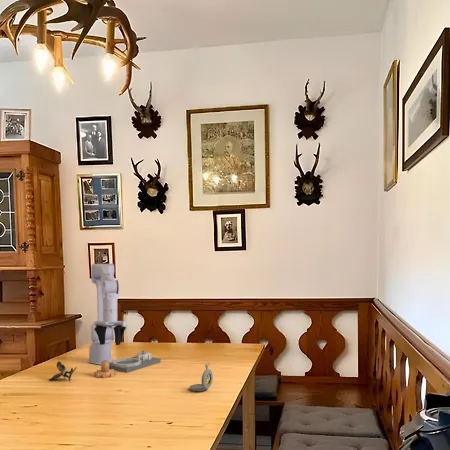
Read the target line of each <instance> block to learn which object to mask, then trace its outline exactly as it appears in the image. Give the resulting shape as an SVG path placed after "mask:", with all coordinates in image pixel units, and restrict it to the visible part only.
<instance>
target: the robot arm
mask: <svg viewBox="0 0 450 450" xmlns="http://www.w3.org/2000/svg"><path fill="white" fill-rule="evenodd" d="M90 268H91V272H90V273H91V278H90V279H91V283H92V284H94V285H95V287H96V302H97V309H96V311H97V320H96V321H94V322H93V323H92V325H91V331H90V339H91V344H90V345H89V347H88V348H89V350H88V361H87V363H88V364H96V365H100V366H101V361H105V360H108V361H109V363H112V361H114V360H115V359H112V358H111V357H112V343H113V341H114V340H115V342H114V343H115V346H119V345H121V342H122V339H123V335H124V332H125V330H126V329H127V321H126V320H118V295H119V291H120V285H119V284H120V283H119V280H118V279H115V276H114V275H115V264H114V263H92V264H91V267H90Z"/></svg>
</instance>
